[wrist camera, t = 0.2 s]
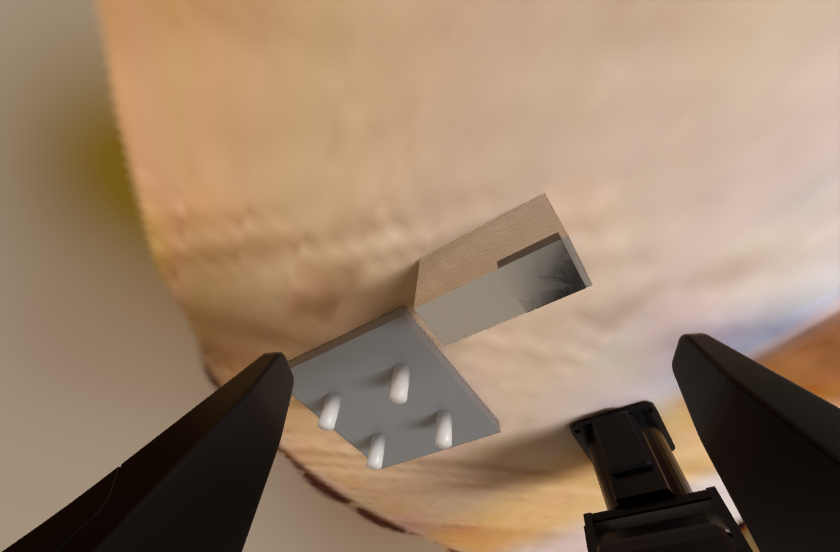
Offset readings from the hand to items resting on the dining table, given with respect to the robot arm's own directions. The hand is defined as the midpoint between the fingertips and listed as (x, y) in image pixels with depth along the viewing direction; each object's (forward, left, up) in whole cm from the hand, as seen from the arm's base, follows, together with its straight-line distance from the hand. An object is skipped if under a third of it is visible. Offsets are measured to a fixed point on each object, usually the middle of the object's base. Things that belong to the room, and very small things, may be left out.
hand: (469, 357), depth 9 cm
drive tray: (-13, +14, -13) cm, 23 cm away
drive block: (-5, +1, -14) cm, 14 cm away
